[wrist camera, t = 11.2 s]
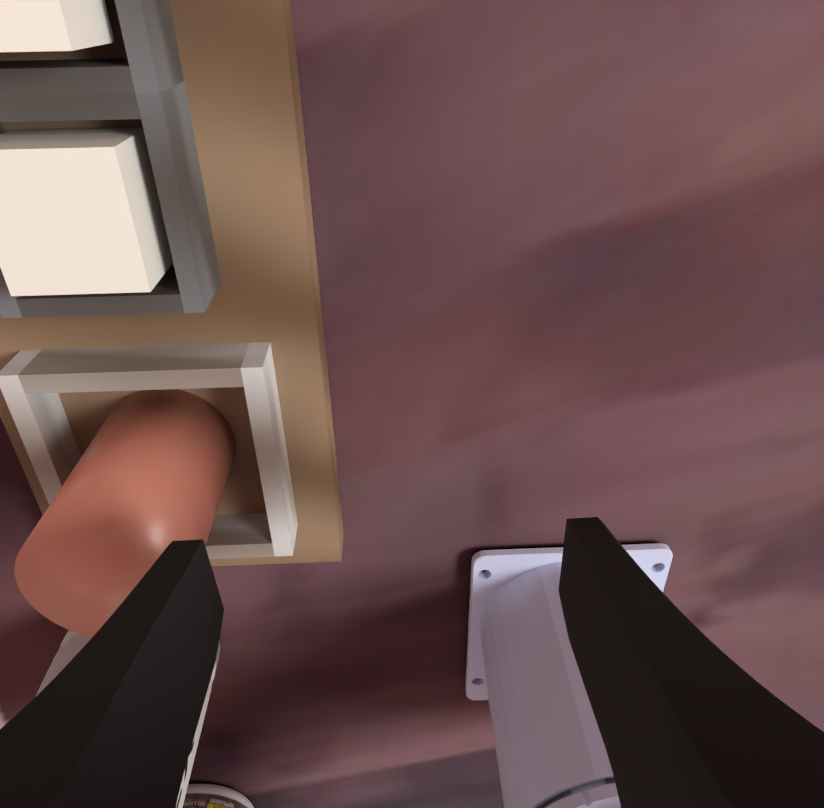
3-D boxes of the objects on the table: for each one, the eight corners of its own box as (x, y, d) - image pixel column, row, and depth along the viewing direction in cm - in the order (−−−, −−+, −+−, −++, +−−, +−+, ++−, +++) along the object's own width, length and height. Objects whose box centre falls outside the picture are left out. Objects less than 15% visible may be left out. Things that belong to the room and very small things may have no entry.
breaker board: (343, 532, 25) (338, 604, 22) (83, 542, 25) (43, 616, 22) (272, -190, 14) (242, -239, 11) (-207, -185, 14) (-370, -233, 11)
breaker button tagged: (175, 258, 17) (151, 292, 15) (52, 262, 17) (10, 296, 15) (146, 127, 15) (114, 147, 13) (9, 130, 15) (-44, 150, 13)
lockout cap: (240, 490, 22) (197, 639, 17) (119, 489, 22) (38, 639, 17) (228, 388, 20) (175, 523, 15) (94, 386, 20) (-7, 521, 14)
